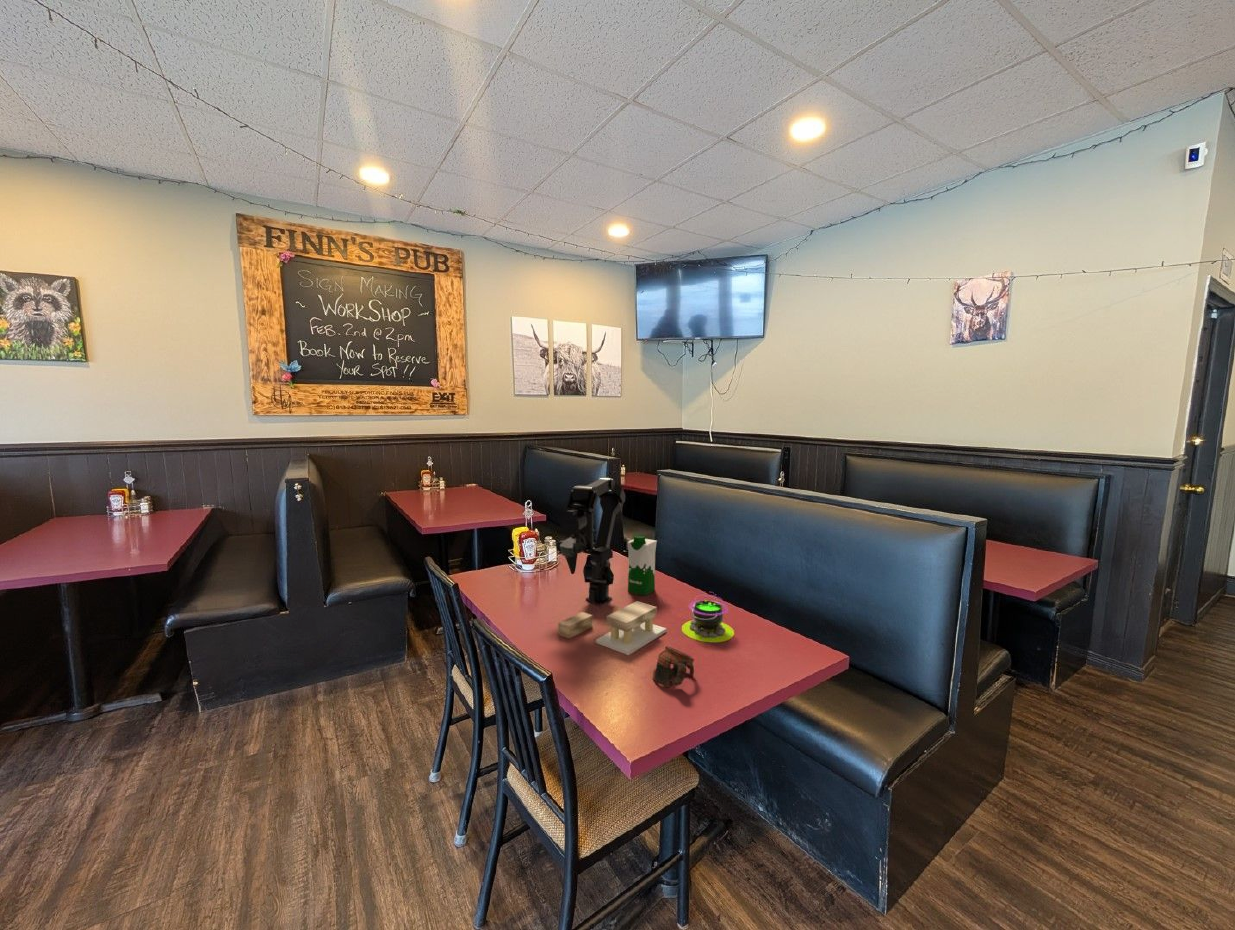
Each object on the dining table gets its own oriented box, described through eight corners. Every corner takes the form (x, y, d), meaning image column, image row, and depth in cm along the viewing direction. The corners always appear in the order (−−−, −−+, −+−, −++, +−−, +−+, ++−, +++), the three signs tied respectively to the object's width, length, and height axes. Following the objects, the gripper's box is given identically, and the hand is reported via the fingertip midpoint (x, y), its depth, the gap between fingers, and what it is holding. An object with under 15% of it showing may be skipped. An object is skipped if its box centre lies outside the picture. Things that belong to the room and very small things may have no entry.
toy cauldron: (672, 624, 150) (673, 588, 149) (715, 617, 156) (716, 582, 155) (698, 646, 137) (699, 607, 135) (744, 637, 142) (746, 600, 141)
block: (582, 623, 150) (582, 611, 150) (592, 626, 148) (592, 615, 148) (558, 634, 143) (558, 622, 142) (568, 638, 140) (568, 626, 140)
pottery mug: (644, 674, 123) (657, 641, 125) (678, 688, 125) (690, 655, 127) (661, 687, 111) (674, 651, 113) (698, 702, 113) (710, 666, 115)
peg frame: (635, 621, 152) (635, 605, 151) (666, 631, 145) (666, 615, 145) (596, 642, 138) (596, 625, 137) (628, 655, 131) (628, 636, 130)
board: (636, 609, 148) (636, 601, 148) (656, 615, 144) (656, 607, 144) (606, 624, 138) (606, 616, 137) (626, 632, 133) (626, 623, 133)
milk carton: (624, 592, 176) (624, 536, 174) (637, 584, 183) (638, 530, 181) (646, 597, 171) (647, 539, 169) (658, 589, 179) (659, 534, 177)
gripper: (543, 527, 153) (543, 577, 155) (589, 537, 142) (589, 591, 143) (568, 521, 162) (568, 568, 164) (614, 530, 150) (613, 580, 152)
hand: (583, 576), depth 155 cm, fingers open, 9 cm apart
